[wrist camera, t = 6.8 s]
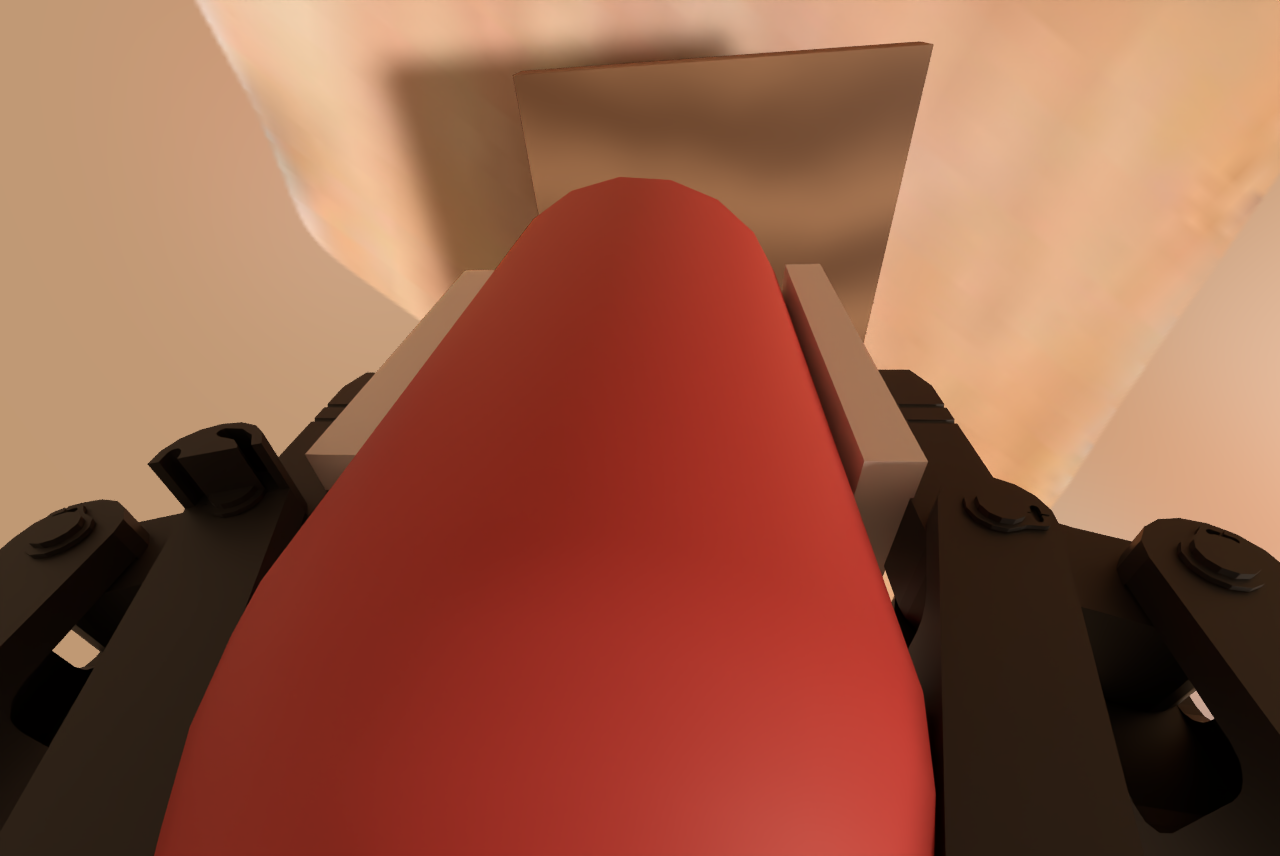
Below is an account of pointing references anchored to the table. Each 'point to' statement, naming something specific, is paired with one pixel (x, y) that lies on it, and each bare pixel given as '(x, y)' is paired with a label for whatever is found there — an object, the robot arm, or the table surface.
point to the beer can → (579, 588)
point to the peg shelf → (746, 144)
